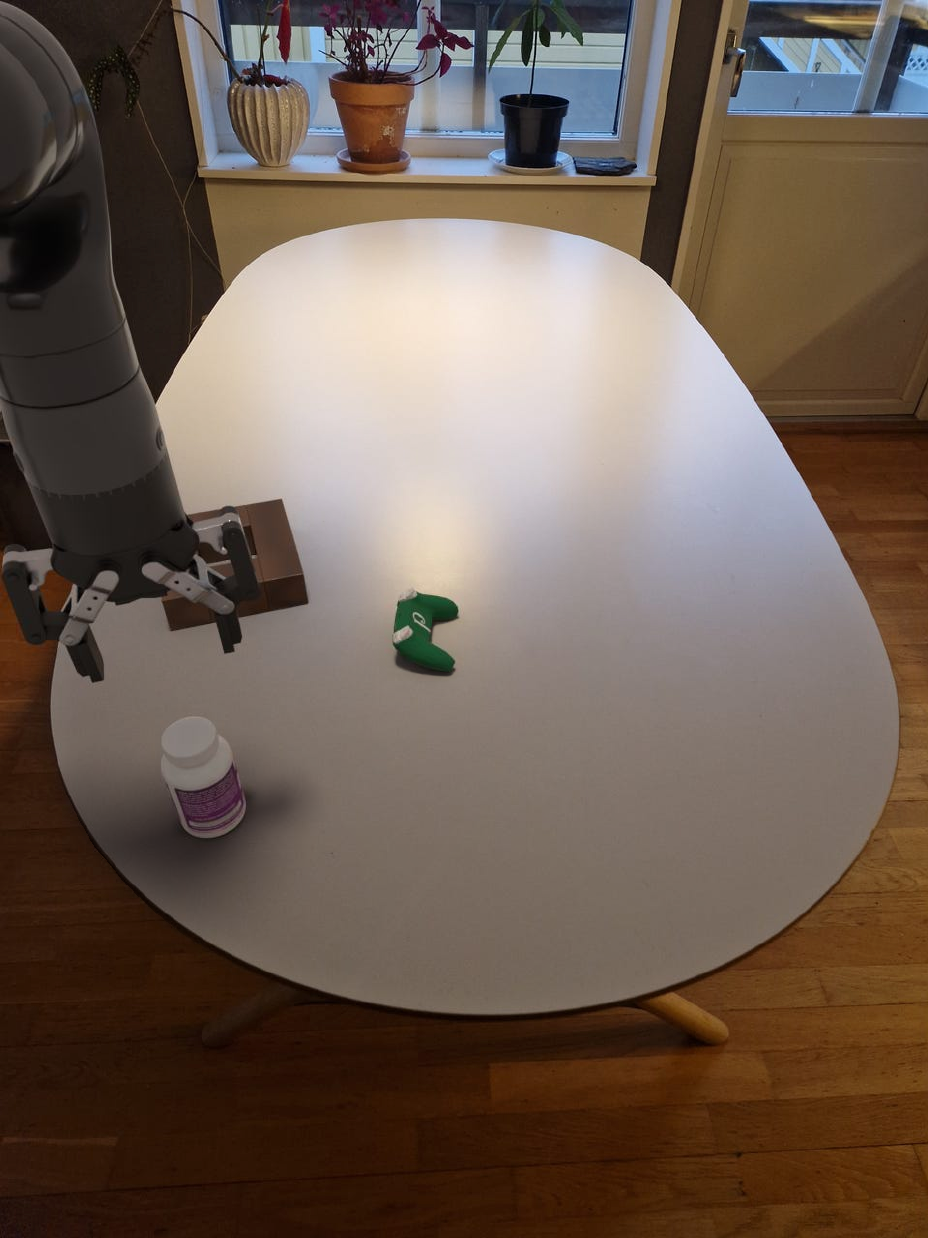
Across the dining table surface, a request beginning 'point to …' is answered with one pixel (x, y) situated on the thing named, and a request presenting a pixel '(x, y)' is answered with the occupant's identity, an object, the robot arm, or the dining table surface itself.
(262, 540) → the holder
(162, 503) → the robot arm
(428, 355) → the dining table surface
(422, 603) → the gaming controller
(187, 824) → the pill bottle
